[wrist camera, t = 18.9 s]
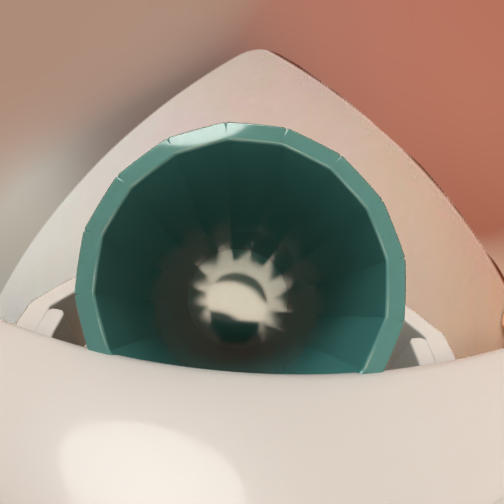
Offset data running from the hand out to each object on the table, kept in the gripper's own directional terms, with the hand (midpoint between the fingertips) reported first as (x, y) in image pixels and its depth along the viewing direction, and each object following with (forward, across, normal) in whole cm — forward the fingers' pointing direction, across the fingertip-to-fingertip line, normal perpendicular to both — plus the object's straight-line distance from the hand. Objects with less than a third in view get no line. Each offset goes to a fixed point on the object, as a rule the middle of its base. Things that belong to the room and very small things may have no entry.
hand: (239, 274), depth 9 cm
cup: (+4, 0, +5) cm, 6 cm away
